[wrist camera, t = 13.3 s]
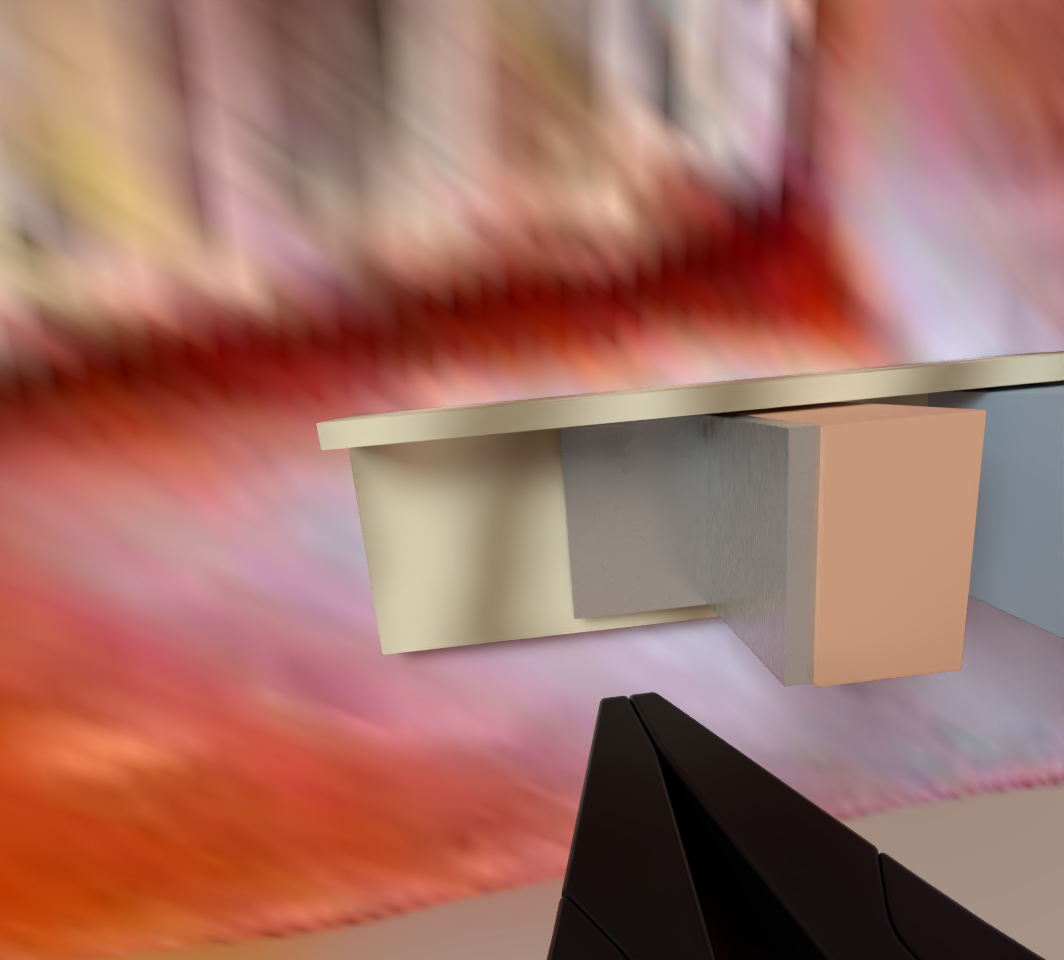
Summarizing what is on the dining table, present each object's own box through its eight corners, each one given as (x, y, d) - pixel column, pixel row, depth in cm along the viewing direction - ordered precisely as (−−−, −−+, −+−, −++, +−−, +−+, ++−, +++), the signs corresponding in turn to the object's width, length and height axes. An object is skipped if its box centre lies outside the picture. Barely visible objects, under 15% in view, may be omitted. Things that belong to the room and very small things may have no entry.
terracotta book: (825, 401, 18) (986, 410, 12) (819, 581, 19) (960, 669, 13) (717, 411, 18) (826, 425, 12) (719, 592, 19) (817, 686, 13)
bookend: (721, 411, 17) (821, 425, 12) (723, 596, 19) (813, 682, 13) (558, 427, 17) (584, 448, 12) (572, 612, 18) (601, 708, 13)
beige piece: (1032, 353, 19) (1371, 334, 12) (1008, 571, 21) (1286, 675, 13) (352, 415, 18) (246, 438, 10) (388, 641, 20) (321, 796, 12)
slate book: (1006, 383, 18) (1251, 384, 12) (988, 562, 19) (1199, 641, 14) (928, 391, 18) (1137, 395, 12) (915, 571, 19) (1096, 653, 13)
